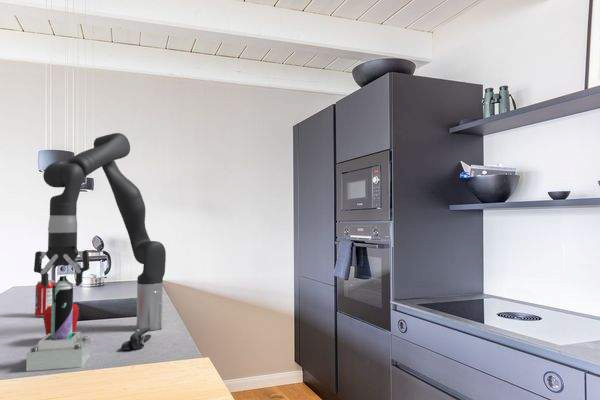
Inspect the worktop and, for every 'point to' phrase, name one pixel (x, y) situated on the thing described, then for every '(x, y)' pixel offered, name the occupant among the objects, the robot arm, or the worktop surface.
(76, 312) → the apple
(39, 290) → the soda can
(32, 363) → the grey square holder
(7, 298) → the worktop surface
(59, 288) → the spray can
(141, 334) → the can opener
